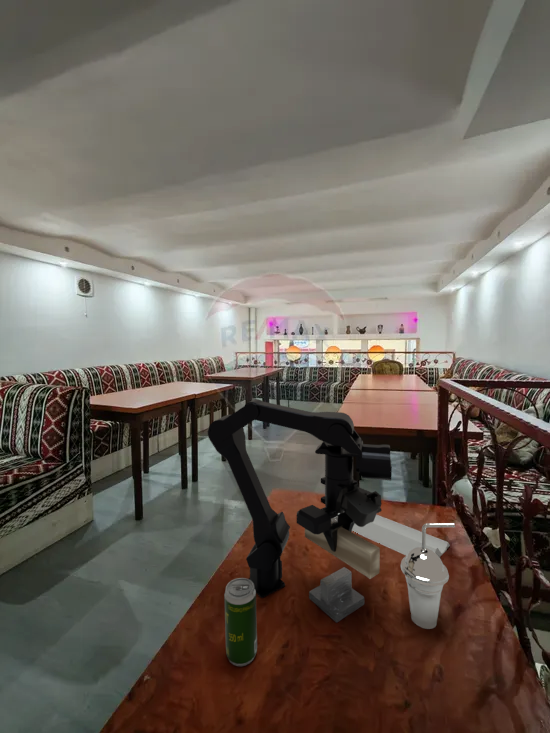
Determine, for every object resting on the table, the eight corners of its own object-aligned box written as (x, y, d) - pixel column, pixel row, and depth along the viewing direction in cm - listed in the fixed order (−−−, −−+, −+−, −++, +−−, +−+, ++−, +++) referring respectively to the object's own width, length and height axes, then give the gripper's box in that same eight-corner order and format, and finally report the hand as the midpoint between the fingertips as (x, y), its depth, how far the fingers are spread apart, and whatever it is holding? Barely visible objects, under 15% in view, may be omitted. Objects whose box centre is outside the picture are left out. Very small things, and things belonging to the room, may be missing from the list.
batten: (370, 579, 64) (370, 553, 64) (304, 536, 78) (304, 515, 78) (379, 572, 66) (379, 547, 66) (313, 532, 80) (313, 511, 80)
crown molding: (449, 549, 90) (449, 535, 90) (429, 570, 82) (430, 555, 82) (349, 509, 113) (349, 498, 113) (326, 522, 105) (326, 510, 105)
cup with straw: (412, 596, 73) (413, 504, 71) (458, 621, 66) (459, 519, 65) (392, 618, 67) (392, 518, 66) (439, 648, 60) (441, 537, 59)
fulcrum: (336, 622, 66) (336, 595, 66) (309, 598, 73) (308, 573, 72) (364, 604, 71) (364, 578, 70) (336, 582, 77) (336, 559, 77)
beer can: (256, 639, 63) (255, 575, 62) (258, 666, 57) (256, 597, 57) (226, 642, 62) (224, 578, 62) (225, 669, 57) (223, 600, 56)
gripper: (336, 501, 59) (336, 588, 60) (400, 476, 70) (398, 550, 71) (294, 481, 68) (294, 557, 69) (356, 461, 79) (356, 527, 80)
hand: (338, 548), depth 72 cm, fingers closed on batten, 3 cm apart
